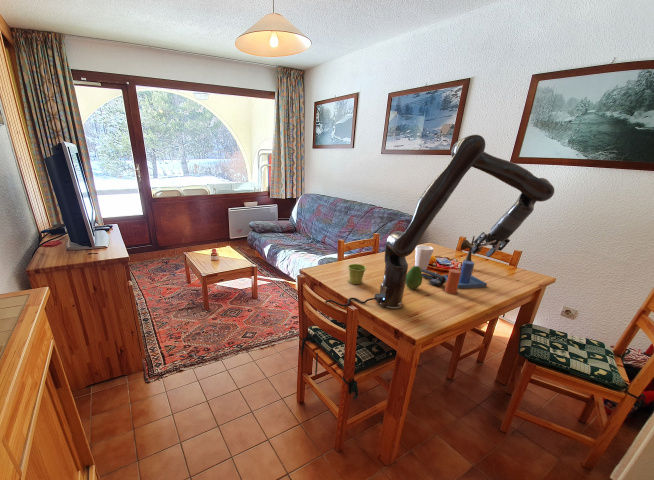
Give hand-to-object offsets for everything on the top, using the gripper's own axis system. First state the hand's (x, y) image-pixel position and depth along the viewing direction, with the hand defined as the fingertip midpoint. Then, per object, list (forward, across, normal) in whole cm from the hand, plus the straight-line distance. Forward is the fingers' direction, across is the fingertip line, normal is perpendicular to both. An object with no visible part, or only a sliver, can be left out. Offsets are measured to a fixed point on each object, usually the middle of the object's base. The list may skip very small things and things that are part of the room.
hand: (479, 254), depth 139 cm
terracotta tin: (+23, -1, +1) cm, 23 cm away
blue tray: (+24, -16, -8) cm, 30 cm away
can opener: (+29, -1, -12) cm, 31 cm away
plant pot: (+40, +39, -14) cm, 57 cm away
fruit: (+30, +15, -4) cm, 33 cm away
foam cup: (+35, -7, -29) cm, 46 cm away
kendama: (+28, -33, -27) cm, 51 cm away
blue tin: (+23, -16, -8) cm, 29 cm away
